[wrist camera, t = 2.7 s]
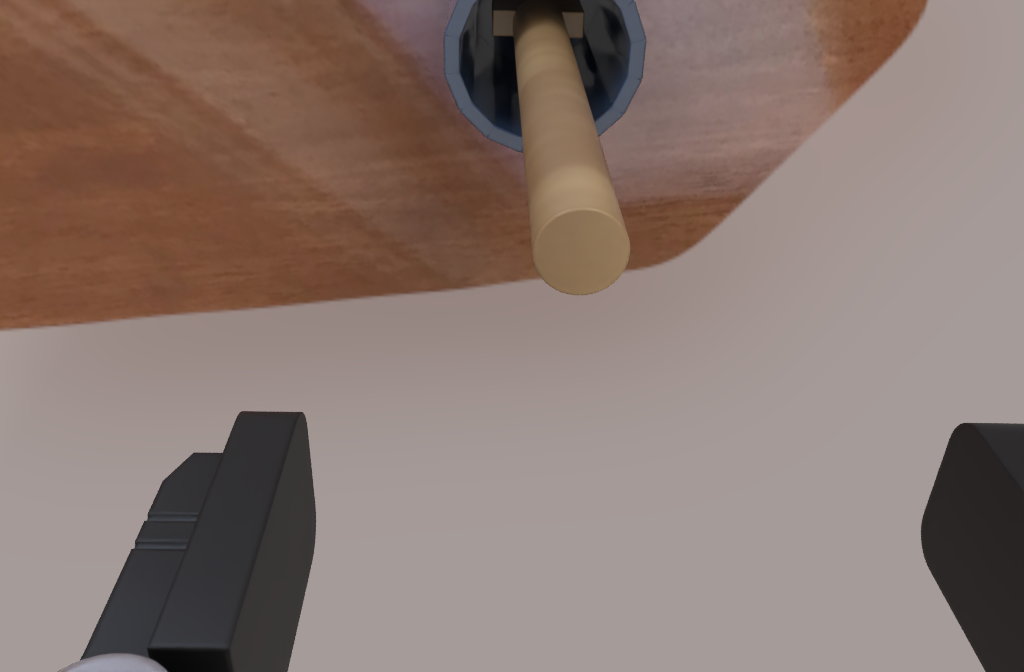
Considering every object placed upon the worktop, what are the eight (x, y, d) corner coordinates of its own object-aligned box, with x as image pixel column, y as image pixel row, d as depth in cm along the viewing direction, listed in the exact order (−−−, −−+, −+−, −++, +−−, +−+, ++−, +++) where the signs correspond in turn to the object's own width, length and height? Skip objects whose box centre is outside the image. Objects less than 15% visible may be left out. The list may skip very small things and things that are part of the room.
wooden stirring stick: (574, -29, 36) (674, 209, 17) (571, 19, 37) (662, 297, 18) (492, -31, 36) (495, 206, 17) (491, 17, 37) (493, 295, 18)
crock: (616, -91, 36) (655, -47, 27) (602, 71, 39) (634, 156, 30) (454, -96, 36) (442, -53, 27) (454, 67, 39) (444, 151, 30)
